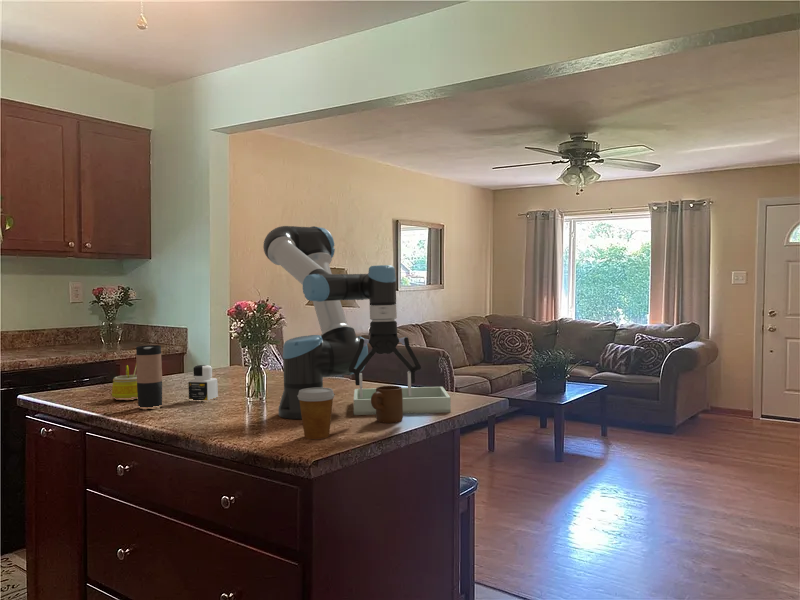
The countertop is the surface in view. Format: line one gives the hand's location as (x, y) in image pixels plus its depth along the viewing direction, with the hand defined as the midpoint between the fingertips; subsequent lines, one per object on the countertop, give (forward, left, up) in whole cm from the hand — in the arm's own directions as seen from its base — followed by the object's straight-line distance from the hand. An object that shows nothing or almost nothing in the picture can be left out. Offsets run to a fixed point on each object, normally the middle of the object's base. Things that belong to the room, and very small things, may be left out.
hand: (385, 396), depth 182 cm
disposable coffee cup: (-18, -15, -8) cm, 25 cm away
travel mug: (-75, +31, -8) cm, 82 cm away
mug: (0, 0, -8) cm, 8 cm away
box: (+5, +21, -7) cm, 23 cm away
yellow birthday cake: (-88, +50, -8) cm, 102 cm away
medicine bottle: (-61, +43, -8) cm, 75 cm away
